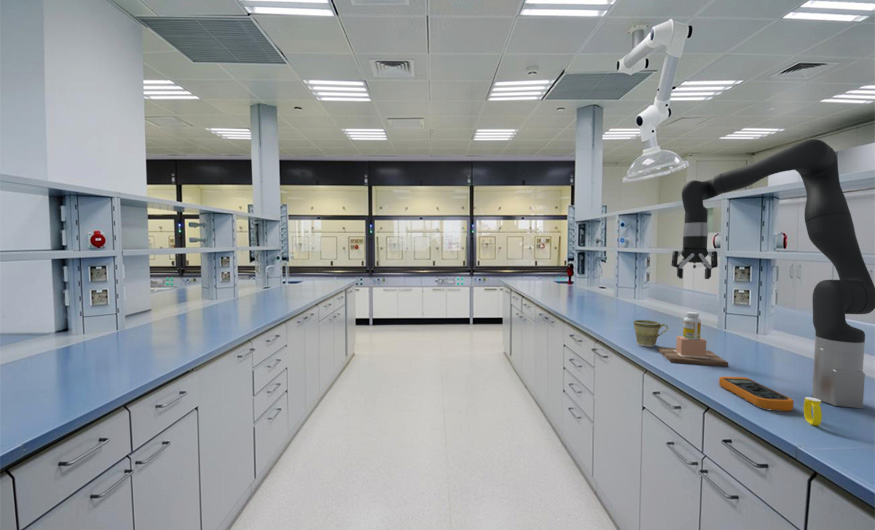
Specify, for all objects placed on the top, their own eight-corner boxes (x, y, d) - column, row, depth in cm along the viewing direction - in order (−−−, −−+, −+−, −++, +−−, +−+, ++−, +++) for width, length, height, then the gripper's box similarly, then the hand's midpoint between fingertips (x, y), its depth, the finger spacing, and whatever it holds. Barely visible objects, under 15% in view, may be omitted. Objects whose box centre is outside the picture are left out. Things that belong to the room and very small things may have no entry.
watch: (799, 418, 94) (800, 394, 94) (814, 420, 92) (815, 396, 93) (809, 426, 88) (810, 401, 88) (825, 429, 87) (826, 403, 87)
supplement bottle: (694, 336, 145) (695, 311, 144) (703, 340, 140) (704, 314, 139) (680, 336, 145) (680, 311, 145) (687, 339, 140) (688, 313, 140)
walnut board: (728, 366, 133) (728, 362, 133) (670, 362, 138) (670, 357, 138) (709, 354, 148) (709, 350, 148) (657, 350, 153) (657, 346, 153)
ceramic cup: (635, 347, 158) (636, 323, 158) (630, 341, 168) (631, 319, 167) (670, 349, 154) (671, 325, 154) (663, 343, 164) (664, 320, 163)
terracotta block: (705, 356, 139) (706, 340, 139) (681, 355, 141) (681, 339, 141) (699, 352, 144) (700, 337, 144) (676, 351, 147) (676, 335, 146)
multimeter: (762, 412, 97) (763, 399, 97) (716, 386, 115) (717, 375, 115) (798, 413, 96) (799, 400, 96) (746, 387, 114) (747, 376, 114)
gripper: (713, 235, 142) (711, 278, 143) (670, 235, 146) (668, 277, 147) (722, 235, 135) (720, 280, 136) (676, 235, 139) (675, 279, 140)
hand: (693, 278), depth 141 cm, fingers open, 8 cm apart
